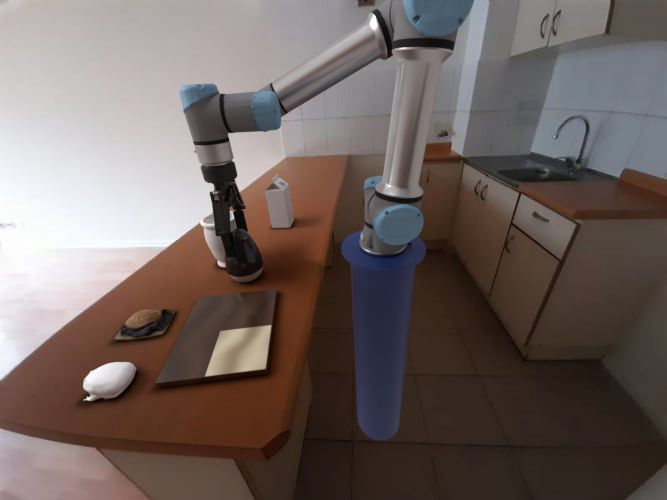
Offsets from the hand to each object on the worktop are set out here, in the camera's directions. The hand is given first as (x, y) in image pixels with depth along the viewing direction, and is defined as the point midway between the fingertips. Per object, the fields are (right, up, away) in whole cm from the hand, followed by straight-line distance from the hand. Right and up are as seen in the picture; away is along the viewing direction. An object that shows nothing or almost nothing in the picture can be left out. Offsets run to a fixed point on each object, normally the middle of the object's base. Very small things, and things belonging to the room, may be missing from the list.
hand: (238, 243), depth 74 cm
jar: (-7, -5, +14) cm, 16 cm away
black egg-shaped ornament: (+1, -10, +6) cm, 11 cm away
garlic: (-16, -27, -22) cm, 38 cm away
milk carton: (+6, +8, +35) cm, 37 cm away
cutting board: (+2, -20, -13) cm, 24 cm away
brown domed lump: (-18, -20, -9) cm, 28 cm away
